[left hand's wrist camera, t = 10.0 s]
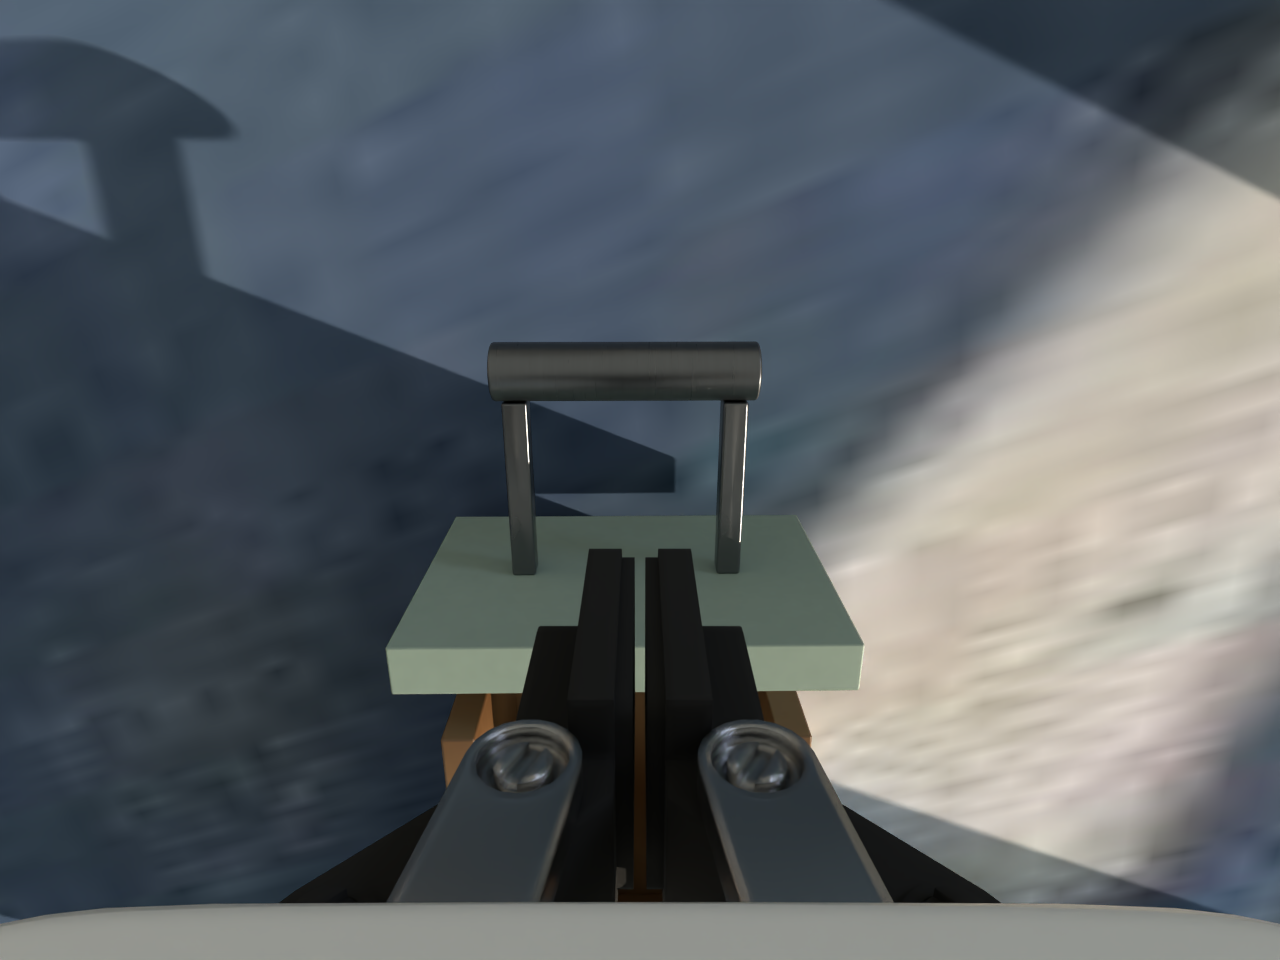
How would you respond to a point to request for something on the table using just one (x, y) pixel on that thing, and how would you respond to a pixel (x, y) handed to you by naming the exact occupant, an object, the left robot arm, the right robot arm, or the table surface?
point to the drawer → (558, 551)
